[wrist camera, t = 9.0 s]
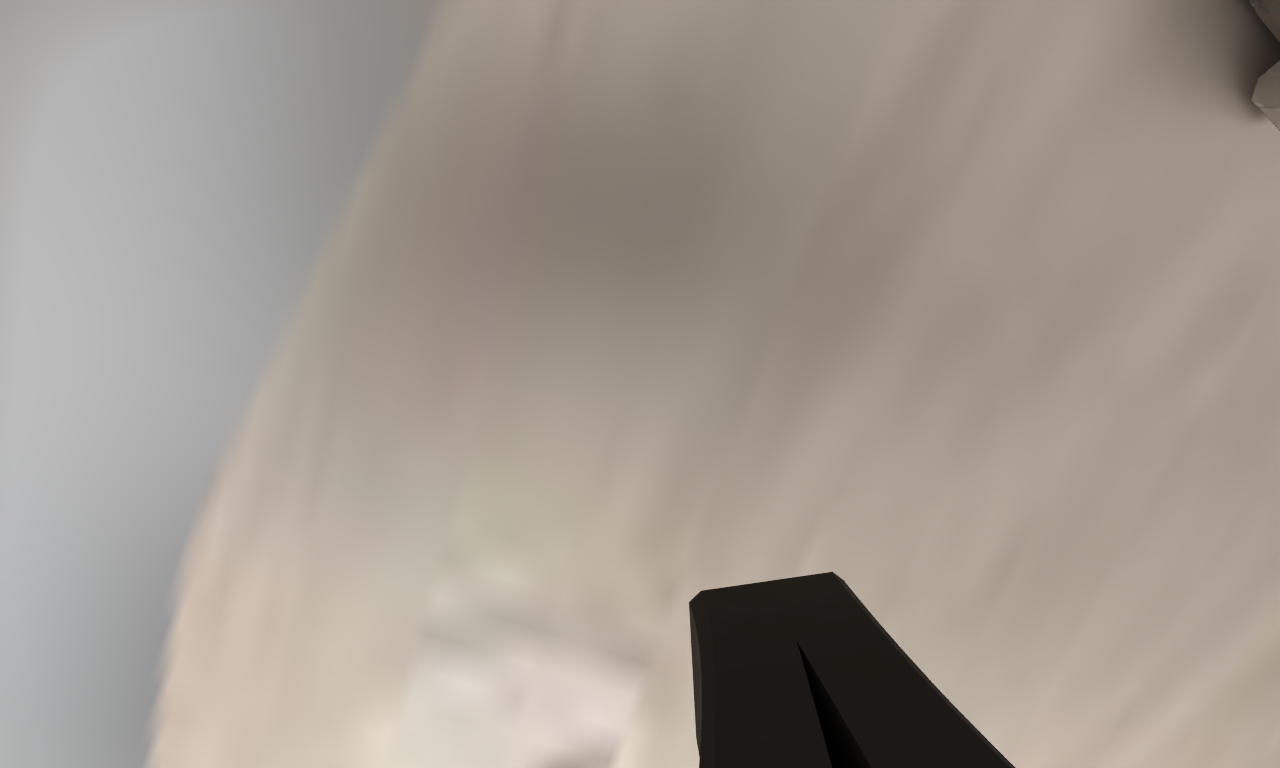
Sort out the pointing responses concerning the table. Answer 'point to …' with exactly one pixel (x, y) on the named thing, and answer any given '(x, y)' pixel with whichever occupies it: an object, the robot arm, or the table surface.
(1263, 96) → the electrical switch
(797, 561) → the table surface
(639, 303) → the table surface
